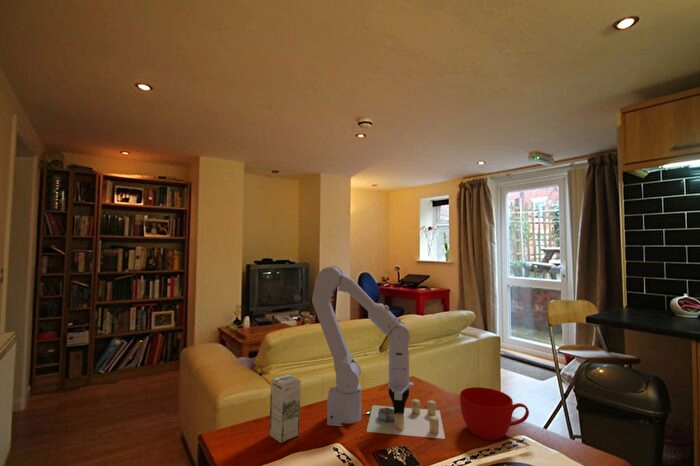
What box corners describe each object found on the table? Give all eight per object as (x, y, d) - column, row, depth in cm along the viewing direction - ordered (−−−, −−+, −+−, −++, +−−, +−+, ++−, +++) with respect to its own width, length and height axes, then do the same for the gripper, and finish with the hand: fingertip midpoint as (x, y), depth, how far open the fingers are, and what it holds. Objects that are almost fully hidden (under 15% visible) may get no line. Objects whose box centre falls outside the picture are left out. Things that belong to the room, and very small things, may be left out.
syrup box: (287, 428, 94) (288, 373, 95) (300, 436, 89) (301, 379, 90) (268, 435, 90) (270, 378, 91) (281, 444, 85) (282, 384, 86)
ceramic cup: (537, 454, 82) (536, 411, 82) (463, 446, 85) (462, 404, 86) (522, 427, 94) (521, 390, 95) (458, 421, 98) (457, 385, 98)
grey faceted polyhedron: (381, 423, 94) (381, 416, 94) (374, 416, 98) (374, 409, 98) (398, 420, 96) (398, 413, 96) (391, 413, 100) (391, 406, 100)
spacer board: (366, 435, 90) (366, 417, 90) (372, 408, 106) (372, 393, 106) (445, 442, 87) (445, 424, 87) (439, 413, 102) (439, 398, 103)
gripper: (413, 376, 90) (413, 430, 89) (412, 359, 104) (413, 405, 103) (386, 374, 91) (386, 427, 90) (389, 358, 105) (389, 404, 104)
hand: (399, 416), depth 97 cm, fingers closed, pressing on grey faceted polyhedron
